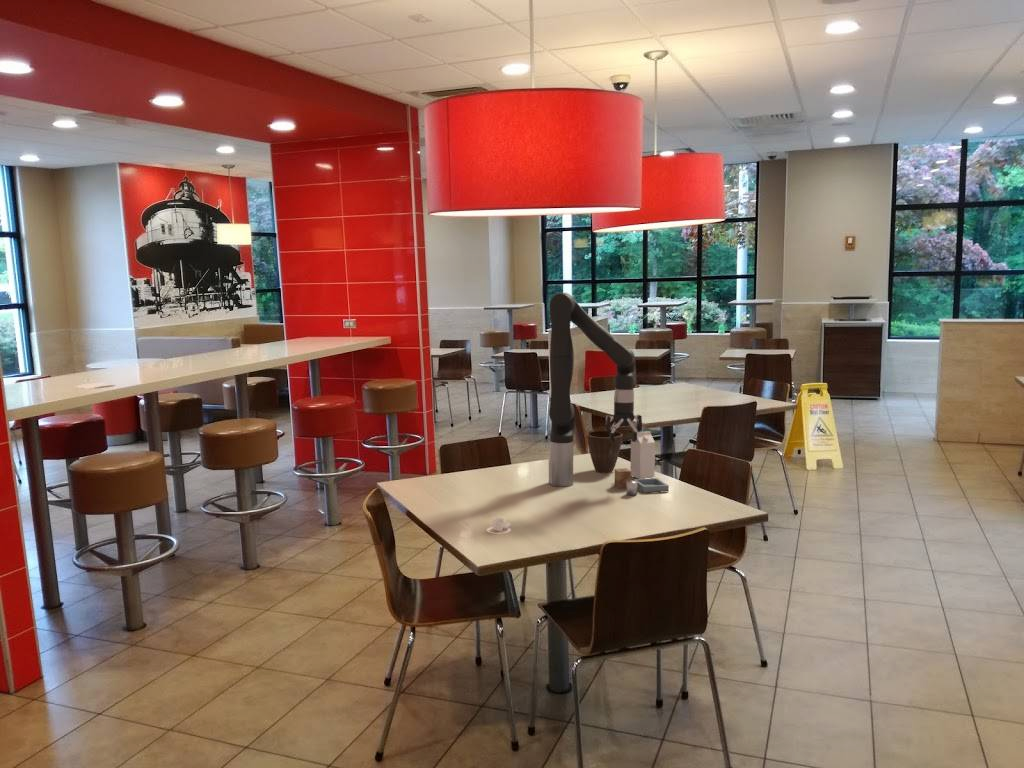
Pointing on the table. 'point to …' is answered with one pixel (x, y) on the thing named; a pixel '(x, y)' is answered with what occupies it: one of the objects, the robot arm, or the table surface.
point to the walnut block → (622, 478)
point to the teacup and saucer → (499, 526)
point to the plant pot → (604, 450)
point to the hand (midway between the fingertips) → (623, 441)
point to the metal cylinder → (631, 488)
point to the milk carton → (643, 456)
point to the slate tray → (651, 485)
